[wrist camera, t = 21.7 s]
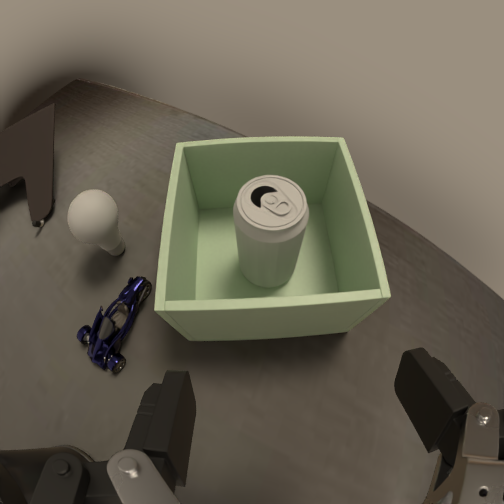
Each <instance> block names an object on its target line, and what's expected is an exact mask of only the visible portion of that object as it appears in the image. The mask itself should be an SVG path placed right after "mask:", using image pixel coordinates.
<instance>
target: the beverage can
mask: <svg viewBox="0 0 504 504" xmlns="http://www.w3.org/2000/svg"><path fill="white" fill-rule="evenodd" d="M233 216H234V224H235V233H236V241H237V249H238V257H239V265H240V269H241V271H242V274H243V275H244V276H245V278H246V279H247V280H248V281H250V282H251V283H253V284H255V285H257V286H260V287H266V288H270V287H276V286H279V285H281V284H283V283H285V282H286V281H287V280H288V279H289V278H290V277H291V276H292V274H293V272H294V270H295V267H296V263H297V260H298V256H299V252H300V249H301V245H302V241H303V238H304V234H305V230H306V226H307V222H308V218H309V208H308V204H307V201H306V197H305V194H304V192H303V190H302V189H301V188H300V187H299V186H298V185H297V184H296V183H295V182H293V181H292V180H290V179H288V178H285V177H282V176H278V175H263V176H259V177H256V178H254V179H252V180H250V181H248V182H247V183H246V184H245V185H244V186H243V187H242V188H241V189H240V191H239V193H238V196H237V198H236V200H235V203H234V207H233Z"/></svg>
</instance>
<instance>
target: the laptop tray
mask: <svg viewBox="0 0 504 504" xmlns="http://www.w3.org/2000/svg"><path fill="white" fill-rule="evenodd" d="M55 105H56V104H55V103H54V104H52V105H50V106H47V107H45V108H43V109H41V110H39V111H38V112H36V113H34V114H32V115H30V116H28V117H26V118H24V119H23V120H21V121H19V122H17V123H16V124H14V125H12V126H10V127H9V128H7V129H5V130H4V131H2V132H1V133H0V187H1V186H3V185H5V184H7V183H8V184H9V186H11V187H13V186H15V185H16V184H17V183H18V182H19V181H20V180H22V179H23V178H24V179H25V183H26V192H27V200H28V205H29V210H30V215H31V219H32V221H33V222H32V225H33V226H37V227H42V226H43V225H44V218H45V217H46V216H47V215H48V214H49V213H50V211H51V208H52V207H53V203H54V202H55V200H54V199H52V198H53V161H54V120H55Z"/></svg>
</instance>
